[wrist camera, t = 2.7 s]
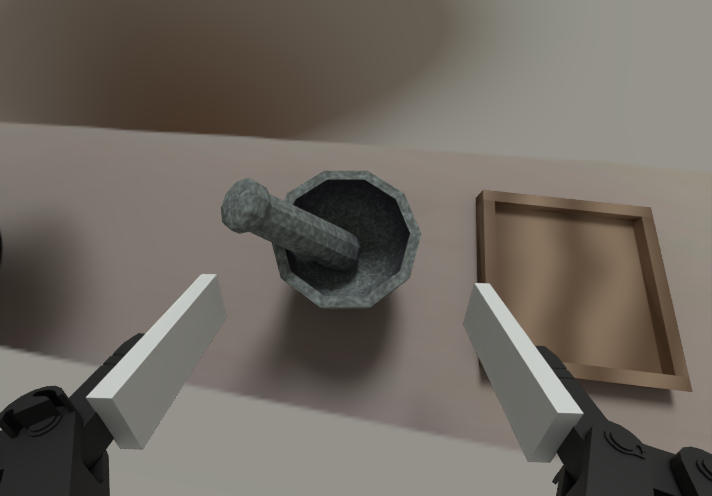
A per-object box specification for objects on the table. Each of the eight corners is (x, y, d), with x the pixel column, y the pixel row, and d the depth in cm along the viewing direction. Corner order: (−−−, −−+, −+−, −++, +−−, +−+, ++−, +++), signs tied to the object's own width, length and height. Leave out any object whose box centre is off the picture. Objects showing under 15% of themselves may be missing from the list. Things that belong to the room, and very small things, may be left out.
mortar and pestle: (399, 211, 26) (437, 115, 14) (405, 314, 23) (458, 295, 12) (280, 212, 26) (221, 115, 14) (271, 314, 23) (191, 297, 11)
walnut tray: (479, 365, 22) (488, 367, 20) (476, 197, 26) (483, 189, 25) (669, 388, 22) (692, 391, 20) (634, 214, 26) (650, 207, 25)
